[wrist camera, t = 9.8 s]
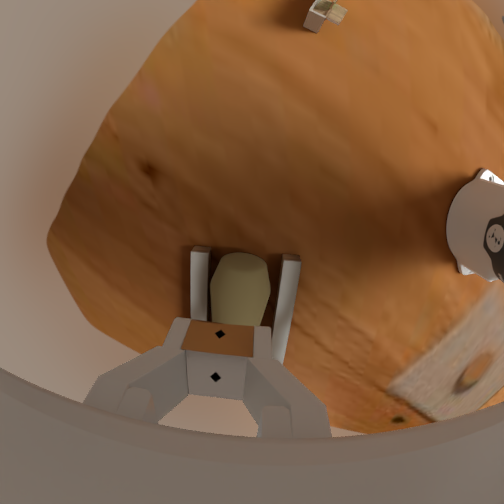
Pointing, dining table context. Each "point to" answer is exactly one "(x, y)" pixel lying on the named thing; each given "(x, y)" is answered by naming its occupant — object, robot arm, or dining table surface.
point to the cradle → (283, 298)
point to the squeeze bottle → (239, 290)
